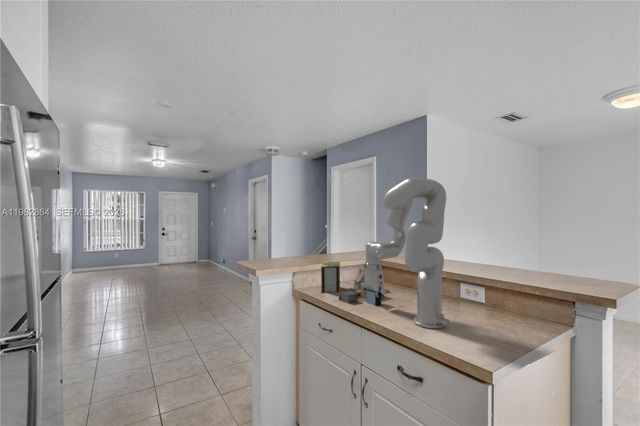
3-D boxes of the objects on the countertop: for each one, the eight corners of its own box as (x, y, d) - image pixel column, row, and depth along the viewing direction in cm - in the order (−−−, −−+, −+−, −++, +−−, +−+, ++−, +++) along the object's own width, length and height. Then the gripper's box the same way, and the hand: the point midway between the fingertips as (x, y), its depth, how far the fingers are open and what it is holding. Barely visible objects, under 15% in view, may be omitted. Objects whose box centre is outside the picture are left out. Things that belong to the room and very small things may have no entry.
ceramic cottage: (350, 287, 186) (352, 263, 185) (376, 287, 189) (377, 263, 188) (358, 296, 171) (360, 269, 170) (386, 295, 174) (387, 269, 173)
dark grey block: (357, 301, 155) (357, 293, 155) (348, 303, 152) (348, 295, 152) (350, 298, 160) (350, 290, 160) (340, 300, 157) (340, 292, 157)
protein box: (340, 287, 189) (340, 262, 189) (339, 293, 173) (339, 266, 173) (323, 286, 190) (323, 261, 190) (321, 293, 174) (320, 266, 174)
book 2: (380, 306, 150) (380, 292, 150) (374, 307, 148) (374, 293, 148) (372, 303, 155) (372, 289, 155) (366, 304, 153) (366, 290, 153)
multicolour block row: (383, 298, 163) (383, 283, 163) (350, 306, 150) (349, 289, 150) (372, 294, 171) (372, 280, 171) (338, 301, 158) (338, 286, 158)
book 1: (373, 297, 161) (373, 284, 161) (368, 299, 159) (368, 285, 159) (366, 295, 166) (366, 282, 166) (360, 296, 164) (360, 283, 164)
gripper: (391, 268, 146) (391, 306, 146) (367, 263, 161) (367, 298, 161) (380, 270, 142) (380, 309, 142) (356, 265, 157) (356, 300, 157)
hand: (373, 303), depth 152 cm, fingers closed on book 2, 6 cm apart
